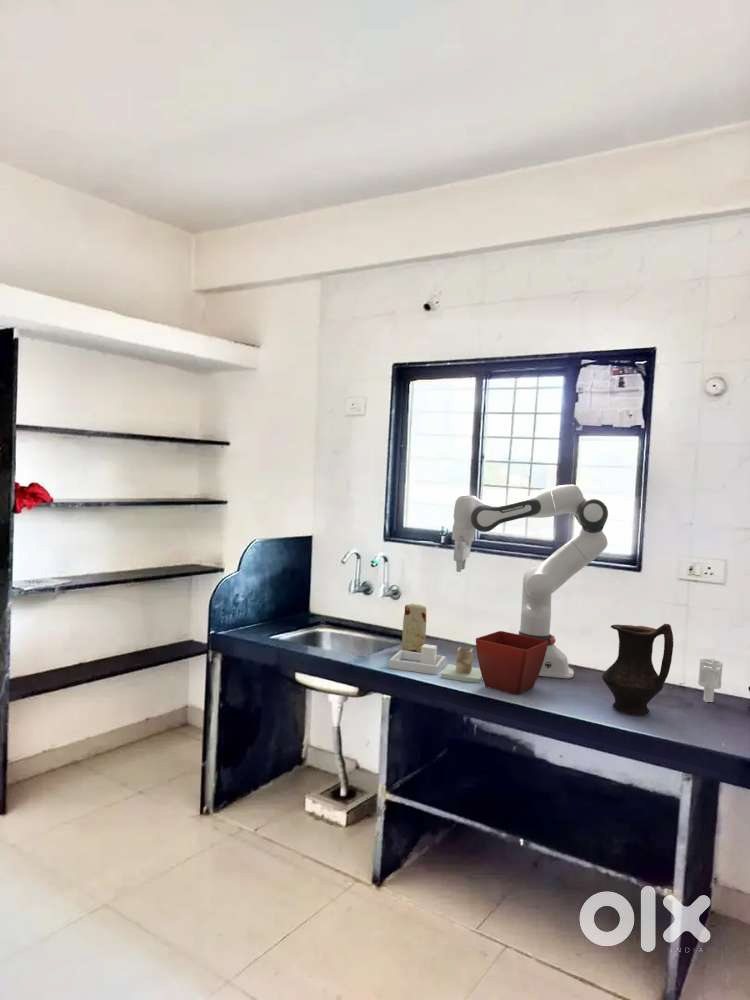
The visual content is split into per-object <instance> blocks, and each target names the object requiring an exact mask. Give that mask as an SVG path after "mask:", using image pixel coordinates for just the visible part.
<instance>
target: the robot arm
mask: <svg viewBox="0 0 750 1000" xmlns="http://www.w3.org/2000/svg"><path fill="white" fill-rule="evenodd" d="M565 514H573V515H574V517H575V519H576V521H577V523H578V524H579V525H580V526H581V530H580V531H579V532H578V533H577V534H576V535H575V536H573V538H571V539H570V540H569V541H567V542H566V543H565V544H564V545H562V546H560V547H559V548H558V549H557V550H555V551H554V552H553V553H552V554H550V556H549V557H547V558H546V559H545V560H544V561H543V562H542V563H540V564H539V565H537V566H533V567H532V566H531V567H530V568H528V569H527V570H526V571H525V572H524V575H523V578H522V594H521V595H522V596H521V614H520V626H519V627H520V628H519V631H518V633H517V634H518V635H523V636H528V637H533V638H537V639H542V640H546V641H548V646H547V650H546V654H545V658H544V661H543V664H542V667H541V670H540V673H539V675H538V677H548V678H549V677H550V678H558V679H559V678H561V679H571V678H573V677H574V676H575V672H574V670H573V668H571V667H569V661H568V657H567V655H566V654H565V653H564V652H562V650H560V648H559V647H557V646H556V645H555V643H556V637H555V635H552V634H551V633H550V632H551V631H550V630H551V619H552V618H551V617H552V594H554V592H556V591H557V590H558V589H559V588H561V586H563V585H564V584H565V583H566V582H567V581H569V579H571V578H572V577H573V576H575V574H577V573H578V572H580V571H581V570H582V569H583V568H585V567H586V566H588V565H589V564H591V562H594V561H595V559H597V558H598V557H599V556H600V555H601V553H603V552H604V551H605V550H606V549H607V547H608V539H607V536H606V535H605V533H604V532H603V530H604V527H605V525H606V523H607V520H608V517H609V511H608V506H607V505H606V504H605V503H604V502H603V501H601V500H600V499H595V498H589V499H587V498H585V496H584V494H583V491H582V490H581V488H580V487H579V486H578V485H576V484H562V485H556V486H555V485H554V486H552V487H548V488H543V489H541V490H538V491H536V492H534V493H532V494H531V495H529V496H527V497H525V498H524V499H522V500H519V501H517V502H516V501H515V502H512V503H508V504H504V505H499V506H493V505H491V504H488V503H486V502H484V501H482V500H480V499H479V498H478V497H476V495H473V494H472V495H470V494H469V495H464V496H463V495H462V496H459V497H458V498H457V499H455V504H454V510H453V525H452V533H451V540H453V541H454V550H453V561H455V564H456V566H455V567H456V570H455V571H456V572H457V573H461V572H462V570H465V568H466V562H467V559H468V558H469V557H470V554H471V548H472V543H473V542H474V541H475V534H476V533H475V532H476V531H478V532H481V533H487V532H490V531H492V530H494V529H495V528H496V527H498V526H499V525H501V524H502V523H507V522H510V521H515V520H519V519H524V518H541V519H542V518H550V517H551V518H552V517H557V516H561V515H565Z"/></svg>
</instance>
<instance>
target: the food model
mask: <svg viewBox="0 0 750 1000" xmlns="http://www.w3.org/2000/svg"><path fill="white" fill-rule="evenodd" d="M401 634H402V636H401V639H402V640H401V650H402V651H410V652H417V653H421V647H422V646H423V645H424V644H426V643H425V642H426V634H427V607H426V606H425V605H421V604H415V603H409V604H406V605H405V606H404V613H403V620H402V633H401Z"/></svg>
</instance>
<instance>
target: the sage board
mask: <svg viewBox="0 0 750 1000" xmlns="http://www.w3.org/2000/svg"><path fill="white" fill-rule="evenodd" d="M446 678H447V679H448V680H454V681H460V680H461V681H460V682H467V681H470V682H469V683H474V682H477V683H476V684H481V683H480V682H482V681H483V679H482V674H481V671H480V667H473V666H472V671H471V672H470V674H466V673H459V672H456V664H451V663H448V664H447V665H446V666H445V668H444V669H442V672H441V673H440V679H446ZM481 680H482V681H481Z"/></svg>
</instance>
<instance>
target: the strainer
mask: <svg viewBox="0 0 750 1000" xmlns="http://www.w3.org/2000/svg"><path fill="white" fill-rule="evenodd" d="M723 664H724V663H723V662H722V661H719V660H717V659H715V658H701V659H700V660H699V670H698V671H699V673H698V682H697V684H698V685H699V686H701V687H704V688H703V700H704V701H705V702H704V701H703V700H702V701H703V702H704V703H707V702H713V703H714V697H715V696H714V695H715V690H718V689H721V688H722V676H723V675H722V674H723Z"/></svg>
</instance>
